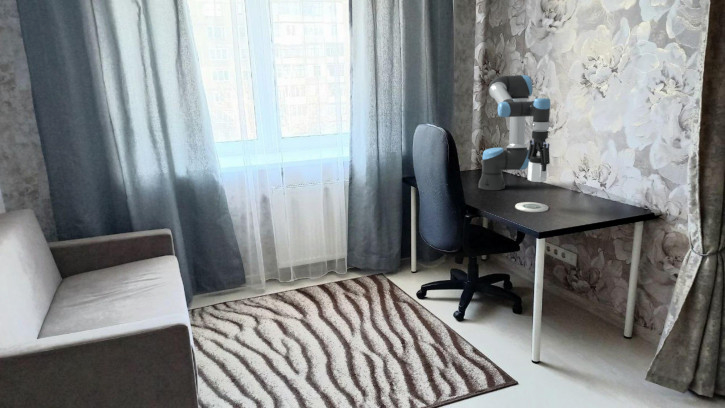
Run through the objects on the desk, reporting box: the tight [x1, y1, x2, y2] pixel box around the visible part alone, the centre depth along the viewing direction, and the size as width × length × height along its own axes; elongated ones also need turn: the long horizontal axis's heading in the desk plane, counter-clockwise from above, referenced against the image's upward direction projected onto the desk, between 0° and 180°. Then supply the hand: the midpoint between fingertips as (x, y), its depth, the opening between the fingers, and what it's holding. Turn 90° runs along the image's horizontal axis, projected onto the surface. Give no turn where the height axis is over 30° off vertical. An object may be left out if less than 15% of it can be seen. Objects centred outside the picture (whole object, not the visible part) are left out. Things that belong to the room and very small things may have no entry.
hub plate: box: [514, 201, 549, 213], centre depth 250 cm, size 16×16×1 cm
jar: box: [527, 154, 548, 183], centre depth 246 cm, size 9×8×12 cm
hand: (537, 175), depth 247 cm, fingers closed on jar, 9 cm apart
